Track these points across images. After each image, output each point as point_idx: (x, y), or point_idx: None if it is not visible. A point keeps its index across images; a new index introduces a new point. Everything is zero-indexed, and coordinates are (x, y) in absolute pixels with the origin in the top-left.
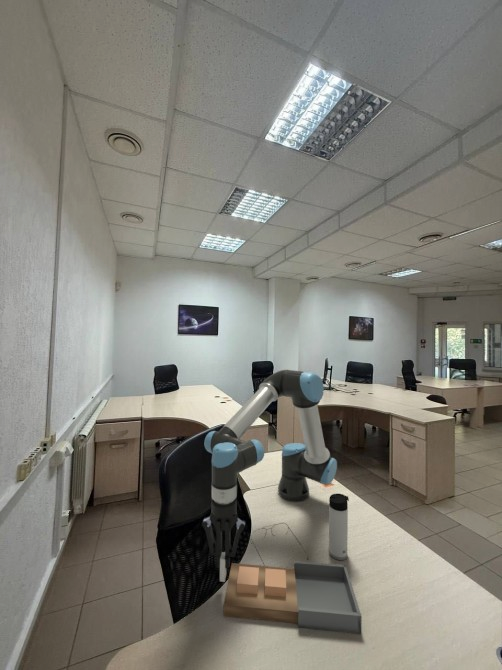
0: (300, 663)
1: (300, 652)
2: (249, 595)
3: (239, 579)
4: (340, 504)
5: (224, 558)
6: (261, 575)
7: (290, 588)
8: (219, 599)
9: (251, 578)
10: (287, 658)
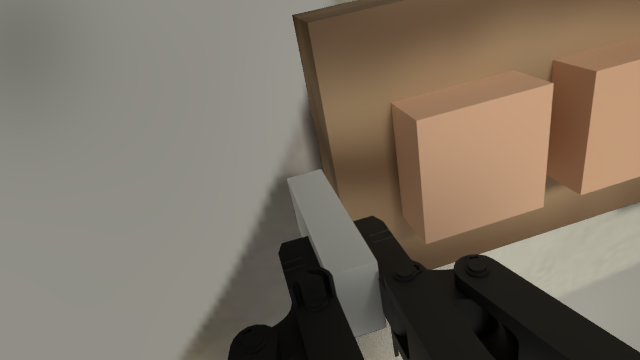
0: (606, 274)
1: (613, 250)
2: None
3: (436, 216)
4: None
5: (378, 320)
6: (529, 58)
7: None
8: (291, 205)
9: (506, 180)
10: (573, 279)
